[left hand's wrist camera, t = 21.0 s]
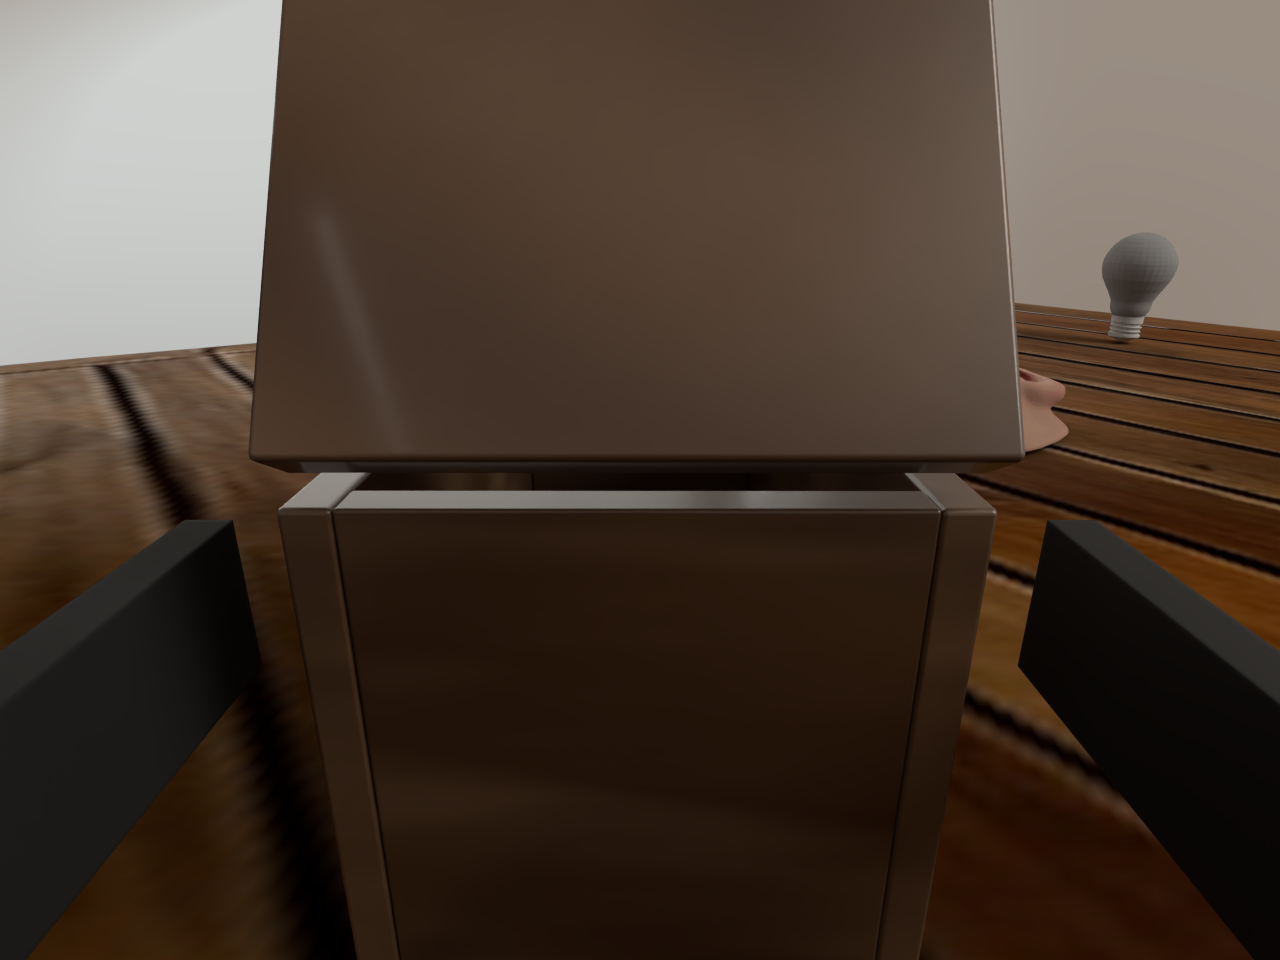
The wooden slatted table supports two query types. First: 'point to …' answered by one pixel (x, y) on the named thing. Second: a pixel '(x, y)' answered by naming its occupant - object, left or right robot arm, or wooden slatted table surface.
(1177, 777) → the left robot arm
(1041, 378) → the anatomical model
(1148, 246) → the light bulb
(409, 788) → the chest
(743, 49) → the lid
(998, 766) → the wooden slatted table surface
